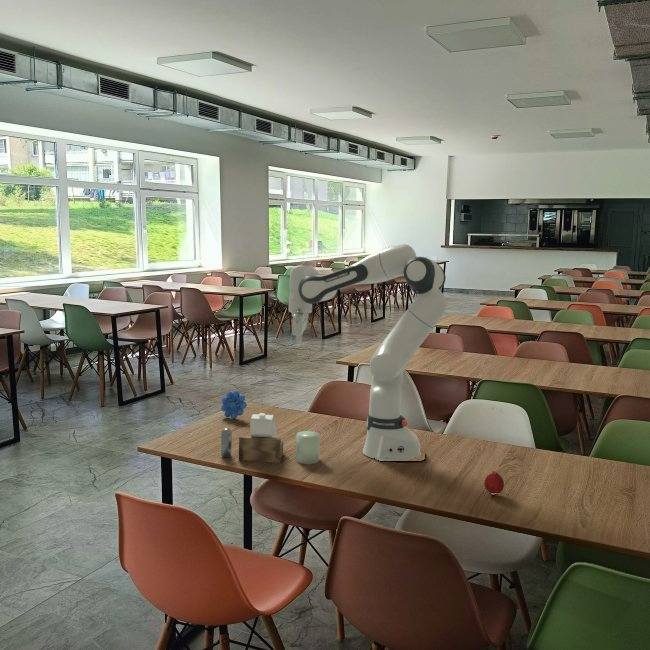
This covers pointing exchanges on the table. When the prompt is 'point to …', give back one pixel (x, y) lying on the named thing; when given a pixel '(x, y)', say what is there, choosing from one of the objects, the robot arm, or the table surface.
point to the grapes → (233, 404)
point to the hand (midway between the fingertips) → (299, 343)
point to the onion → (494, 483)
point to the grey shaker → (226, 443)
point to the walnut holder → (260, 449)
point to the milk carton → (262, 426)
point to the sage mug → (307, 447)
